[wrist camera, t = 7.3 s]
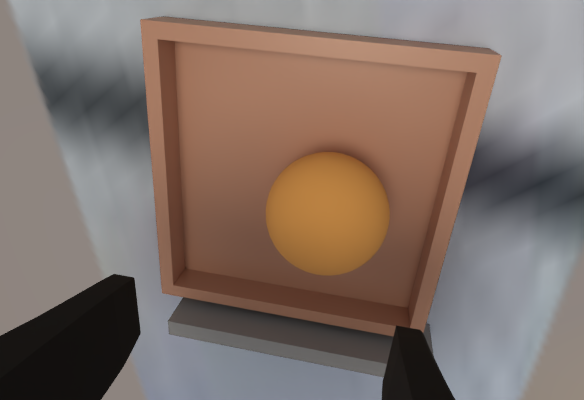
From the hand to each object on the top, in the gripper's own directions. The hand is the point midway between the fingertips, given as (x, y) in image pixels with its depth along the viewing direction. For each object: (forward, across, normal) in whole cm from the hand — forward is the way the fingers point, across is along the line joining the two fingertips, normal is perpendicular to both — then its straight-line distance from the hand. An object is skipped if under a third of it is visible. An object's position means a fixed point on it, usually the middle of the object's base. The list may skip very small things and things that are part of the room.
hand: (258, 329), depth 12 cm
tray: (+8, 0, -1) cm, 8 cm away
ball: (+6, -1, -1) cm, 6 cm away
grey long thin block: (+8, 0, +6) cm, 10 cm away
